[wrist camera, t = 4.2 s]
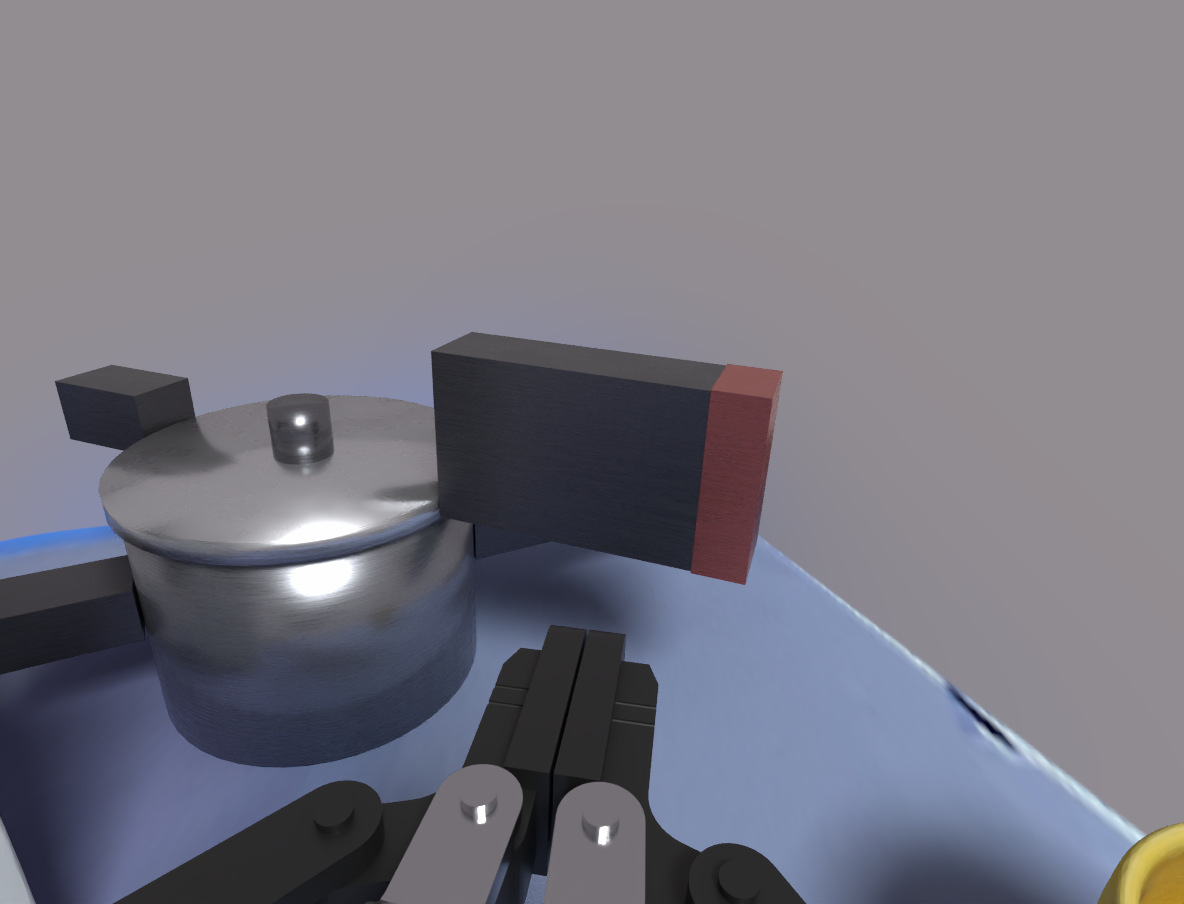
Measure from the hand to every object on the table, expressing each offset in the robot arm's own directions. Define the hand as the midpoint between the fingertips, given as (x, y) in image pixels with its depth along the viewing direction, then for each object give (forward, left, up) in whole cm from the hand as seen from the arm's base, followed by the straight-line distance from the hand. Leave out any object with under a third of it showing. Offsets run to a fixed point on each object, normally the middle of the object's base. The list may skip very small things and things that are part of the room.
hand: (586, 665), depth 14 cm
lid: (-13, +15, -5) cm, 21 cm away
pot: (-14, +18, -15) cm, 27 cm away
